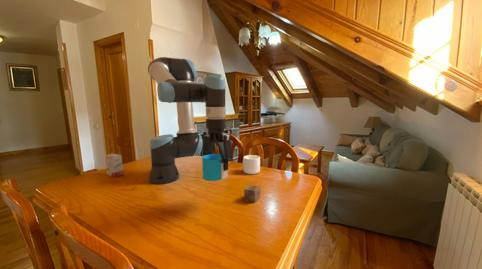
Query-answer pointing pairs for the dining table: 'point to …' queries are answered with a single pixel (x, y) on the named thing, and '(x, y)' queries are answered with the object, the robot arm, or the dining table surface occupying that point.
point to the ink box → (114, 165)
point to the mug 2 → (251, 164)
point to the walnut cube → (252, 193)
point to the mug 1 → (212, 167)
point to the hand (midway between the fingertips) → (217, 175)
